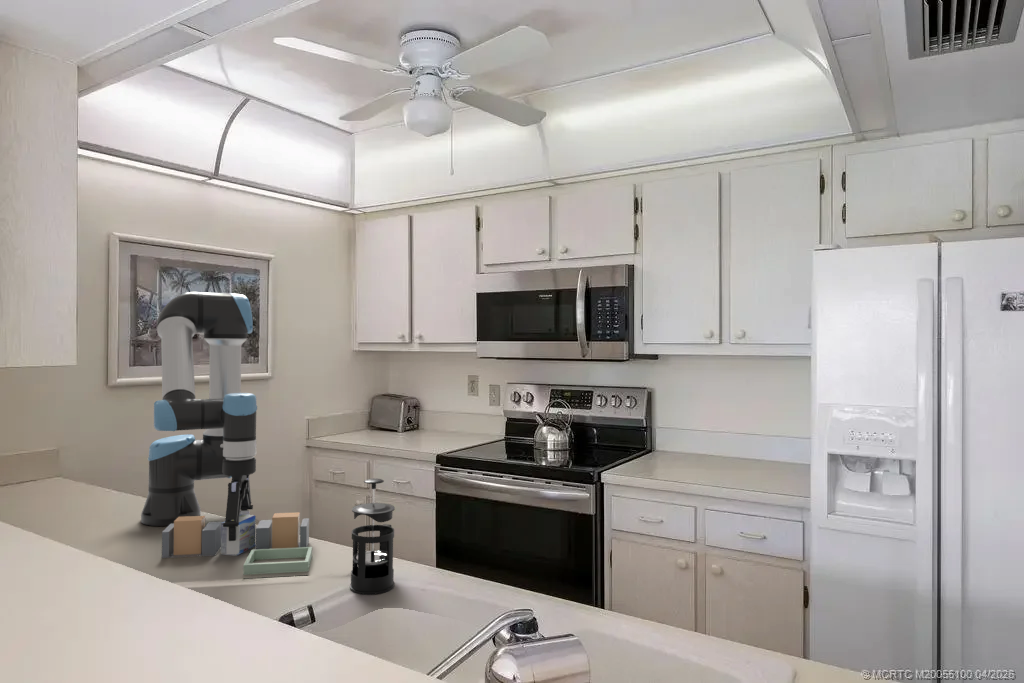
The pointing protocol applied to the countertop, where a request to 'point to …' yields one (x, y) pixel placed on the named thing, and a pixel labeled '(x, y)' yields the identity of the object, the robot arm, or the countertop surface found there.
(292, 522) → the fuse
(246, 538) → the medicine box
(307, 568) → the tray
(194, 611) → the countertop surface
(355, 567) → the french press
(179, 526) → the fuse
